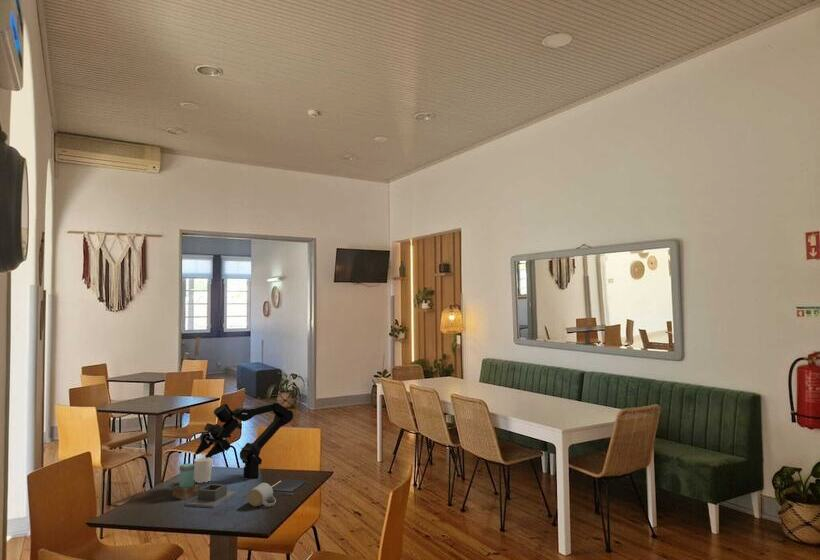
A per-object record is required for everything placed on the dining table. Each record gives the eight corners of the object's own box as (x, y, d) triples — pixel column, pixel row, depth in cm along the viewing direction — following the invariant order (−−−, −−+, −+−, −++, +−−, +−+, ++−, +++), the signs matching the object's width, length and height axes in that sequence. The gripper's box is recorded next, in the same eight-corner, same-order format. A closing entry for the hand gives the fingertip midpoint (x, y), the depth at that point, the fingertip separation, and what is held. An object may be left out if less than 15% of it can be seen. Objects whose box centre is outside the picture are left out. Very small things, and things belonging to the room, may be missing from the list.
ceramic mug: (245, 506, 221) (246, 487, 222) (257, 500, 229) (257, 481, 230) (269, 509, 218) (269, 489, 219) (279, 503, 226) (280, 484, 227)
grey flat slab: (292, 492, 235) (260, 490, 239) (292, 497, 235) (259, 494, 239) (311, 479, 254) (281, 477, 258) (311, 483, 254) (281, 481, 258)
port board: (211, 492, 240) (211, 480, 240) (236, 493, 238) (236, 482, 238) (186, 505, 222) (186, 493, 223) (213, 507, 220) (213, 495, 220)
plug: (188, 493, 238) (189, 462, 239) (193, 495, 236) (194, 464, 237) (179, 496, 235) (179, 465, 236) (184, 497, 233) (184, 466, 234)
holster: (190, 491, 241) (190, 482, 241) (199, 494, 237) (199, 485, 237) (172, 496, 234) (173, 486, 235) (182, 499, 230) (182, 489, 230)
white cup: (194, 479, 260) (194, 457, 260) (212, 477, 262) (212, 456, 263) (193, 484, 252) (193, 461, 253) (211, 482, 254) (211, 460, 255)
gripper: (206, 414, 258) (180, 439, 248) (227, 419, 245) (201, 446, 235) (219, 431, 262) (194, 457, 252) (241, 437, 250) (215, 463, 240)
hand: (200, 455), depth 245 cm, fingers open, 9 cm apart
